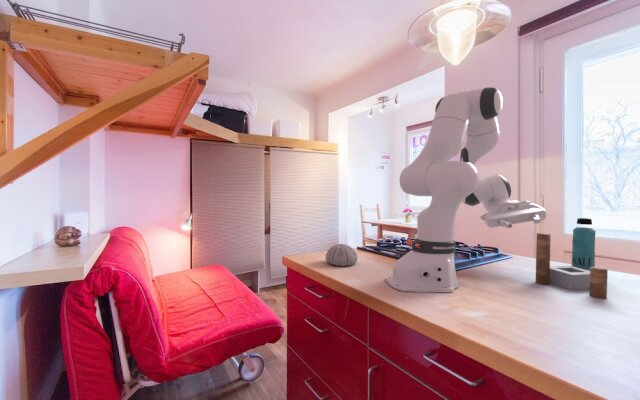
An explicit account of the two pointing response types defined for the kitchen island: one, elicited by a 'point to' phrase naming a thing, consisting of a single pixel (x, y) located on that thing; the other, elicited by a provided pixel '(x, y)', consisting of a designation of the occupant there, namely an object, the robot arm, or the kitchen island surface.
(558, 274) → the socket block
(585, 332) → the kitchen island surface
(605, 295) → the short dowel
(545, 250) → the long dowel
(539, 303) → the kitchen island surface
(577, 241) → the beverage bottle
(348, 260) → the sea urchin shell
